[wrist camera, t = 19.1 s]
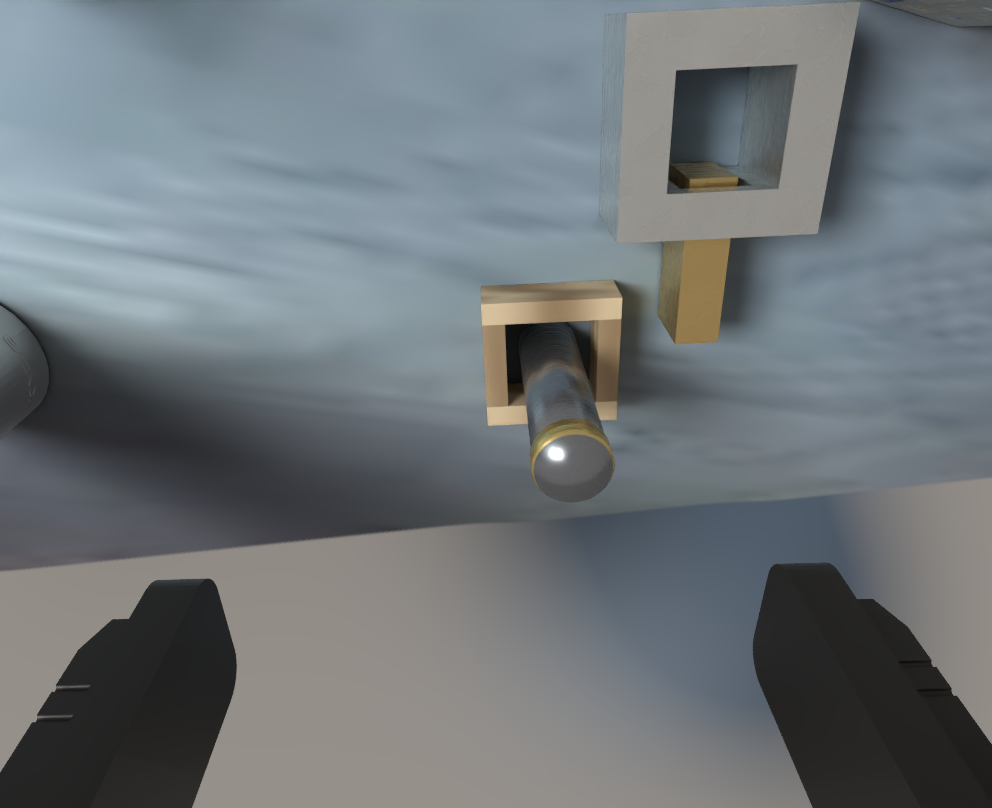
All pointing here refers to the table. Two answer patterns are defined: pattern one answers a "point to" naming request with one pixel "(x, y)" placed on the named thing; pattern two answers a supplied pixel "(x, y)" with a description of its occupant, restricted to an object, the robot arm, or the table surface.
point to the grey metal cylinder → (562, 416)
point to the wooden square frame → (543, 307)
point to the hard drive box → (948, 10)
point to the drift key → (694, 267)
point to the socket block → (766, 126)
